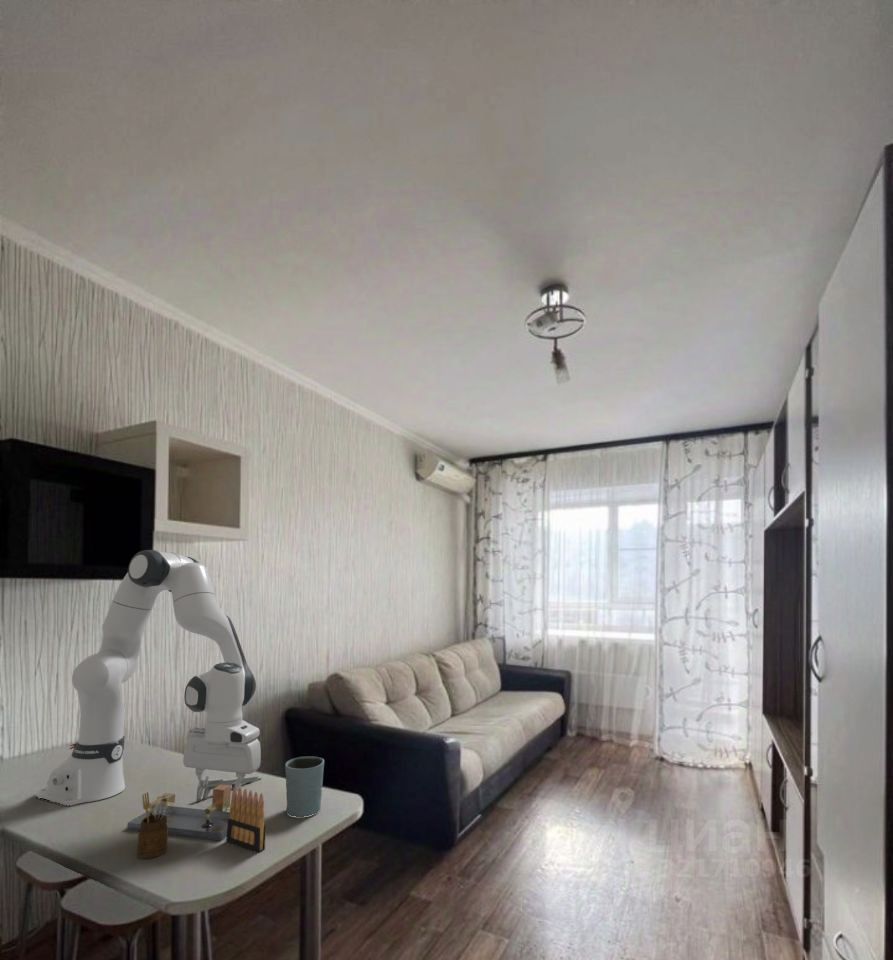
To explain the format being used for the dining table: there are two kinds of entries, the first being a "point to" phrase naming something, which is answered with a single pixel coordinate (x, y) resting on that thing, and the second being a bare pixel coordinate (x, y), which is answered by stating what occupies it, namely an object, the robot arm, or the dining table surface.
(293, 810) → the grey-teal cup
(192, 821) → the bolt plate
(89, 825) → the dining table surface
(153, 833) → the utensil holder
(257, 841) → the ammunition clip
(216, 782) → the caliper
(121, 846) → the dining table surface
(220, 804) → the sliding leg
